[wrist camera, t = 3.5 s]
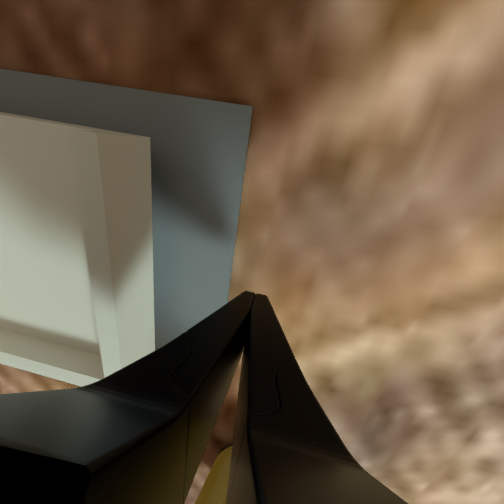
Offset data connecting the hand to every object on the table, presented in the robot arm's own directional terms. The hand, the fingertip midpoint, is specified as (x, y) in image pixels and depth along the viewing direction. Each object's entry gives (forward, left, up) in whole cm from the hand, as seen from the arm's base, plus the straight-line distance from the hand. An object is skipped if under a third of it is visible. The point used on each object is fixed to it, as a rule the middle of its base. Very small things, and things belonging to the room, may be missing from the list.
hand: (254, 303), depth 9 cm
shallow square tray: (0, +10, -2) cm, 11 cm away
